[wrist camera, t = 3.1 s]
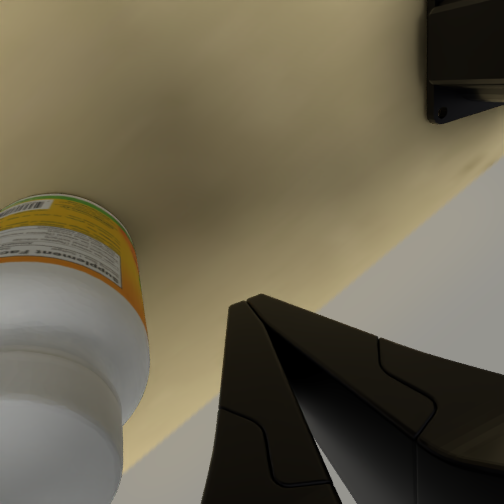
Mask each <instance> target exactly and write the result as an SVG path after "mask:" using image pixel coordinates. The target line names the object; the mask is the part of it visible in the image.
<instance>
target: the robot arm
mask: <svg viewBox="0 0 504 504" xmlns="http://www.w3.org/2000/svg"><path fill="white" fill-rule="evenodd" d="M501 105H504V0H427V118H428V120H429V122H430V123H432V124H444V123H447V122H451V121H454V120H457V119H460V118H463V117H466V116H470V115H473V114H476V113H479V112H482V111H485V110H488V109H492V108H495V107H498V106H501ZM439 110H441V112H440V115H439V116H438V112H439ZM313 437H314V438H313ZM314 439H315V440H316V442H317V443H318V445H319V446H320V448H321V449H322V451H323V452H324V454H325V455H326V457H327V458H328V460H329V461H330V463H331V465H332V466H333V468H334V469H335V471H336V472H337V474H338V475H339V477H340V478H341V480H342V481H343V483H344V484H345V486H346V487H347V489H348V490H349V492H350V494H351V495H352V497H353V498H354V500H355V501H356V503H357V504H504V375H502V374H499V373H495V372H491V371H487V370H484V369H480V368H477V367H473V366H469V365H466V364H462V363H458V362H455V361H451V360H448V359H444V358H441V357H438V356H434V355H431V354H427V353H424V352H421V351H418V350H415V349H412V348H409V347H406V346H403V345H400V344H398V343H395V342H392V341H389V340H387V339H384V338H379V339H378V336H375V335H373V334H370V333H367V332H365V331H362V330H359V329H357V328H354V327H351V326H348V325H346V324H343V323H340V322H338V321H335V320H332V319H329V318H327V317H324V316H321V315H319V314H316V313H313V312H311V311H308V310H305V309H302V308H300V307H297V306H294V305H292V304H289V303H286V302H284V301H281V300H278V299H275V298H273V297H270V296H267V295H265V294H259V295H256V296H253V297H251V298H248V299H247V301H241V302H238V303H235V304H233V305H231V306H229V309H228V319H227V329H226V339H225V348H224V358H223V368H222V378H221V387H220V397H219V410H218V415H217V424H216V432H215V439H214V446H213V452H212V457H211V462H210V467H209V471H208V476H207V480H206V484H205V488H204V492H203V496H202V500H201V504H342V502H341V500H340V498H339V496H338V493H337V491H336V489H335V487H334V486H333V482H332V479H331V477H330V475H329V472H328V470H327V468H326V465H325V463H324V461H323V458H322V456H321V454H320V452H319V449H318V447H317V445H316V442H315V440H314Z"/></svg>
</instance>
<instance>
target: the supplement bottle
mask: <svg viewBox="0 0 504 504" xmlns="http://www.w3.org/2000/svg"><path fill="white" fill-rule="evenodd" d="M149 368H150V354H149V341H148V334H147V327H146V321H145V313H144V306H143V299H142V292H141V285H140V278H139V270H138V264H137V257H136V253H135V249H134V245H133V242H132V240H131V237H130V235H129V234H128V232H127V230H126V229H125V227H124V226H123V225H122V224H121V222H120V221H119V220H118V219H117V218H116V217H115V216H114V215H112V214H111V213H110V212H109V211H107V210H106V209H104V208H103V207H101V206H99V205H98V204H96V203H94V202H91V201H89V200H86V199H84V198H81V197H77V196H72V195H66V194H42V195H36V196H31V197H27V198H24V199H21V200H18V201H16V202H14V203H12V204H10V205H8V206H7V207H5V208H4V209H2V210H1V211H0V504H110V503H111V502H112V500H113V498H114V496H115V494H116V492H117V490H118V487H119V484H120V481H121V477H122V469H123V428H122V426H123V425H124V424H125V423H126V421H127V420H128V419H129V418H130V417H131V415H132V414H133V412H134V411H135V409H136V407H137V406H138V404H139V402H140V400H141V398H142V396H143V393H144V390H145V388H146V385H147V381H148V376H149Z"/></svg>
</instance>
